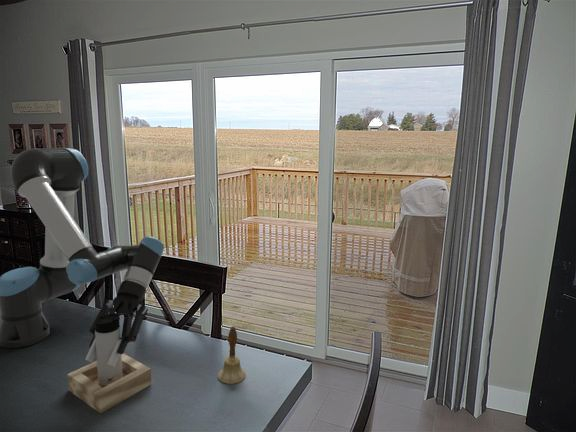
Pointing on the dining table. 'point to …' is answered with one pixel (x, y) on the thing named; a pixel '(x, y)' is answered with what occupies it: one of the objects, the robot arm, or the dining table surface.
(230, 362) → the hand bell
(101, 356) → the travel mug
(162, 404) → the dining table surface
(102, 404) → the wooden tray
